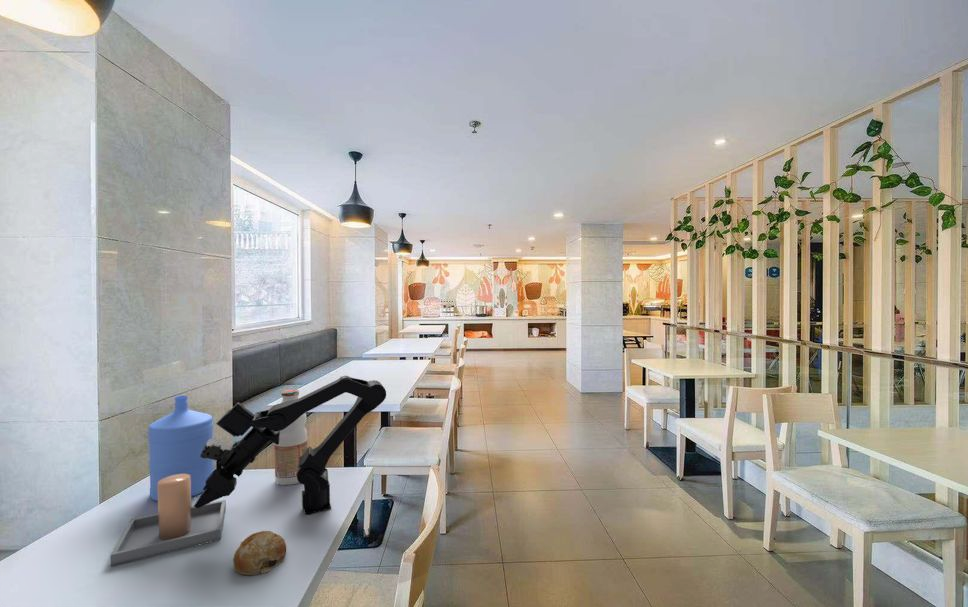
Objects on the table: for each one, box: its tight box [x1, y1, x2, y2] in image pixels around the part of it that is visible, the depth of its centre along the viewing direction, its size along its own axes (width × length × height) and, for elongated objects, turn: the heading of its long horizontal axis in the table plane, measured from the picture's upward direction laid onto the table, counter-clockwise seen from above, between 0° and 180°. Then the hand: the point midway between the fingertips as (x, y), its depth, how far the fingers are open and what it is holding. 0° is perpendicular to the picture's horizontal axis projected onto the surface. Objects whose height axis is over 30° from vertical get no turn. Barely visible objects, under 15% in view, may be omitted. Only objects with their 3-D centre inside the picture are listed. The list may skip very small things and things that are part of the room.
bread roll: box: [232, 530, 287, 576], centre depth 90 cm, size 10×10×8 cm
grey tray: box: [110, 499, 227, 567], centre depth 101 cm, size 20×16×2 cm
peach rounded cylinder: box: [157, 474, 192, 540], centre depth 100 cm, size 6×6×13 cm
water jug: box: [147, 395, 215, 502], centre depth 123 cm, size 16×16×28 cm
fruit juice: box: [273, 389, 309, 486], centre depth 130 cm, size 9×9×28 cm
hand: (200, 498), depth 103 cm, fingers open, 9 cm apart
